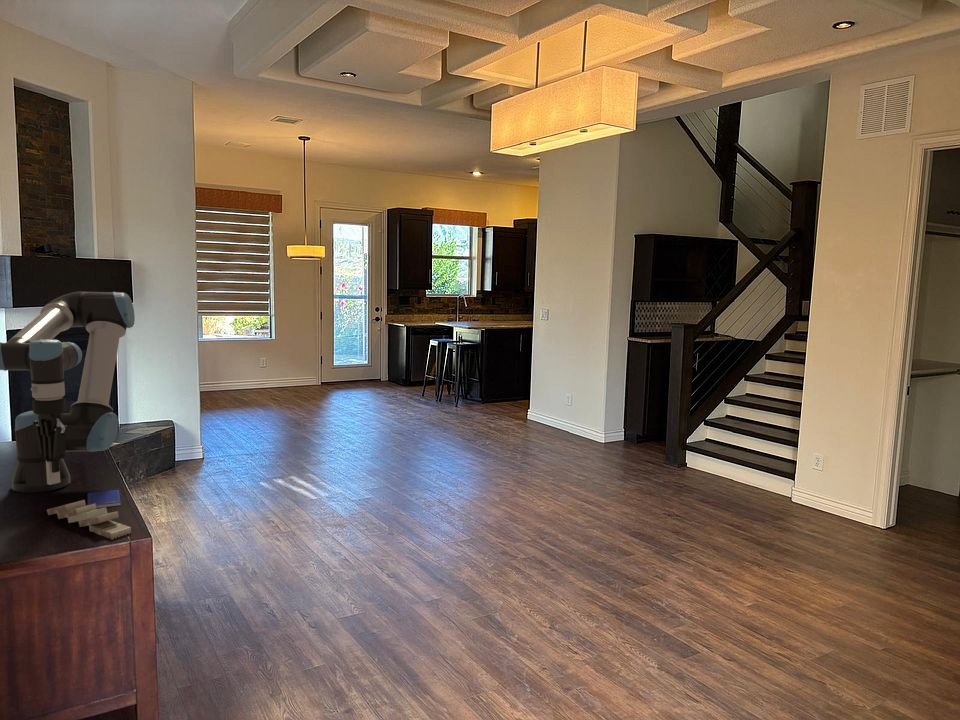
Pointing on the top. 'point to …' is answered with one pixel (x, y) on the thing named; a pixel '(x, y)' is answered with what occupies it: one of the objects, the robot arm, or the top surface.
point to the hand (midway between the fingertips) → (53, 483)
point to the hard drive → (104, 498)
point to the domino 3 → (87, 515)
